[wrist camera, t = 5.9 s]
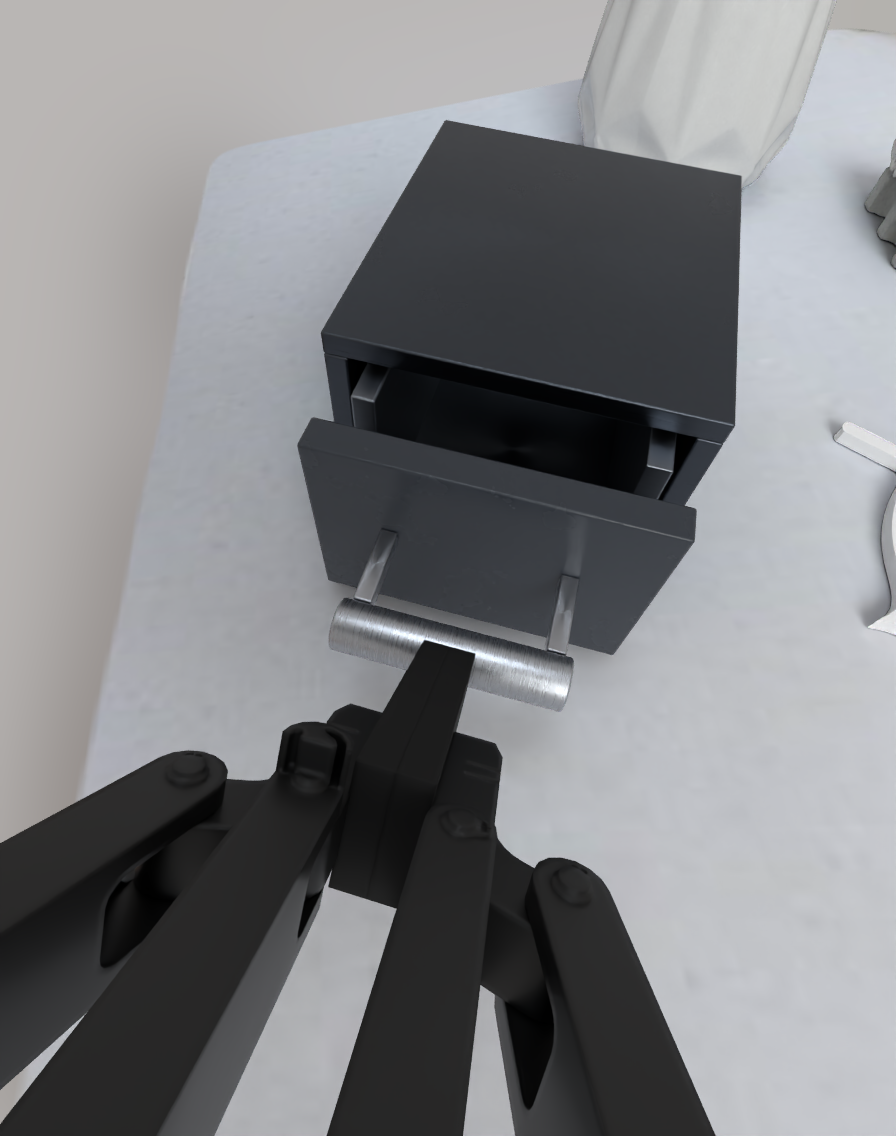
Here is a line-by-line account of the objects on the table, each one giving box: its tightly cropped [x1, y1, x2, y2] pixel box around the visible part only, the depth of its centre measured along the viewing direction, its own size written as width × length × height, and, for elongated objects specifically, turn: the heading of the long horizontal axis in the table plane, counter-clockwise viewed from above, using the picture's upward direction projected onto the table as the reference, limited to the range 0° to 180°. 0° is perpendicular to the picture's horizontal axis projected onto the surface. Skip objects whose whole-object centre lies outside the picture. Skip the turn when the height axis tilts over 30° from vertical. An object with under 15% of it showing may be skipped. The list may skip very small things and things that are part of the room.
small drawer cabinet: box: [321, 120, 742, 506], centre depth 26 cm, size 15×13×10 cm
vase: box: [578, 0, 837, 189], centre depth 38 cm, size 14×14×15 cm
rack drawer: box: [298, 363, 697, 712], centre depth 23 cm, size 18×11×8 cm, turn 165°
